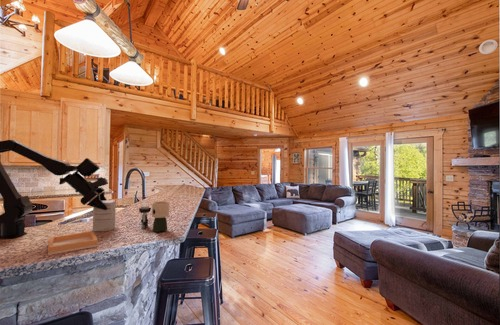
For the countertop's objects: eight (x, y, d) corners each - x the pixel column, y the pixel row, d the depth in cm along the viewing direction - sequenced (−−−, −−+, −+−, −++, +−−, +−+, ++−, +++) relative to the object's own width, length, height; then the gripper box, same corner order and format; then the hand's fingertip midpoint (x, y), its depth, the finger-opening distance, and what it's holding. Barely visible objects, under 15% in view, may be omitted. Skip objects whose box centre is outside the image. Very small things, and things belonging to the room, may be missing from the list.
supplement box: (97, 227, 105) (98, 200, 106) (115, 226, 108) (116, 200, 108) (91, 231, 98) (92, 202, 99) (110, 230, 101) (111, 202, 101)
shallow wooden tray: (48, 255, 73) (48, 247, 73) (48, 243, 83) (49, 237, 83) (97, 246, 82) (97, 239, 82) (92, 236, 92) (93, 230, 92)
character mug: (151, 228, 105) (152, 201, 106) (167, 227, 108) (168, 200, 108) (151, 235, 95) (152, 204, 96) (169, 233, 98) (170, 204, 98)
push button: (149, 229, 104) (150, 207, 105) (136, 229, 103) (137, 208, 103) (150, 225, 111) (151, 205, 111) (139, 226, 109) (139, 205, 109)
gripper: (90, 172, 93) (120, 197, 98) (100, 171, 110) (124, 192, 115) (66, 191, 90) (98, 217, 94) (80, 187, 107) (106, 209, 111)
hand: (108, 207), depth 104 cm, fingers closed on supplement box, 7 cm apart
